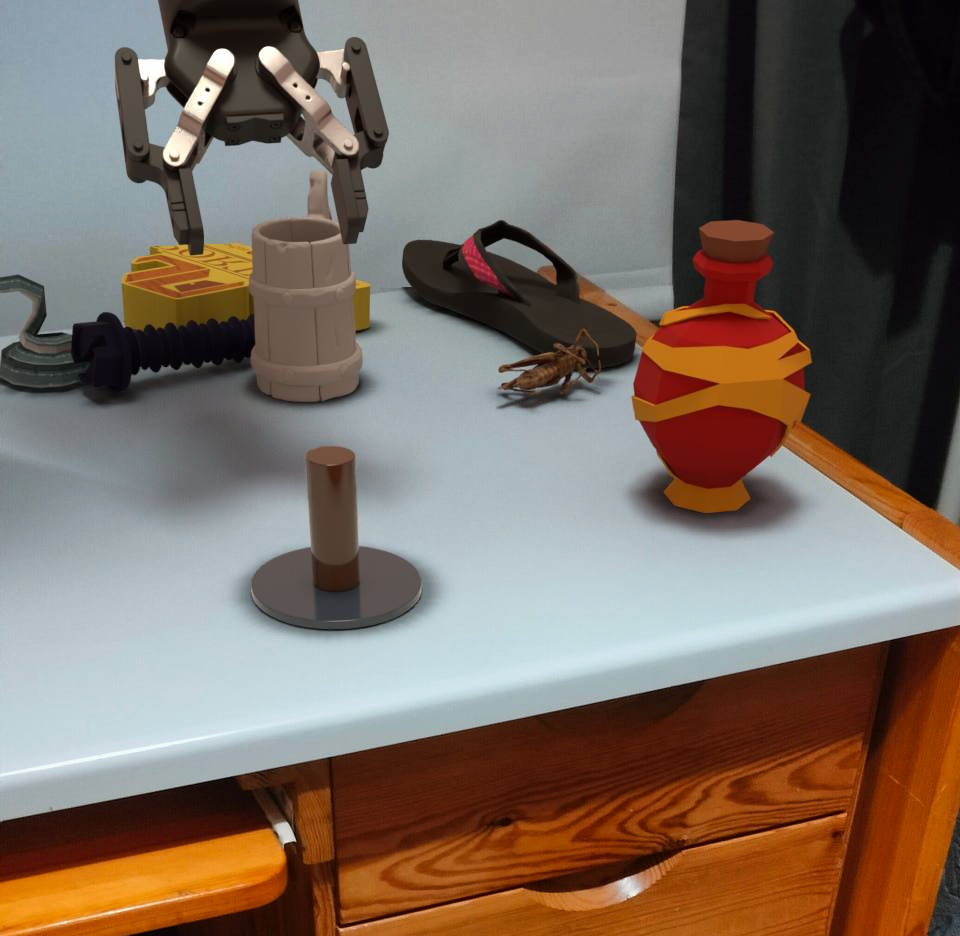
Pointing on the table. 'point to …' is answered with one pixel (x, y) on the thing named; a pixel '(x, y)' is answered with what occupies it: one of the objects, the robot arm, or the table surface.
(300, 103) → the robot arm
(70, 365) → the stylized snake
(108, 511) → the table surface
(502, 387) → the insect
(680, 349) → the potion bottle
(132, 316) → the decorative sign
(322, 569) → the lid
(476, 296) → the sandal
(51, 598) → the table surface
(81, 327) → the screw
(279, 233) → the mug
